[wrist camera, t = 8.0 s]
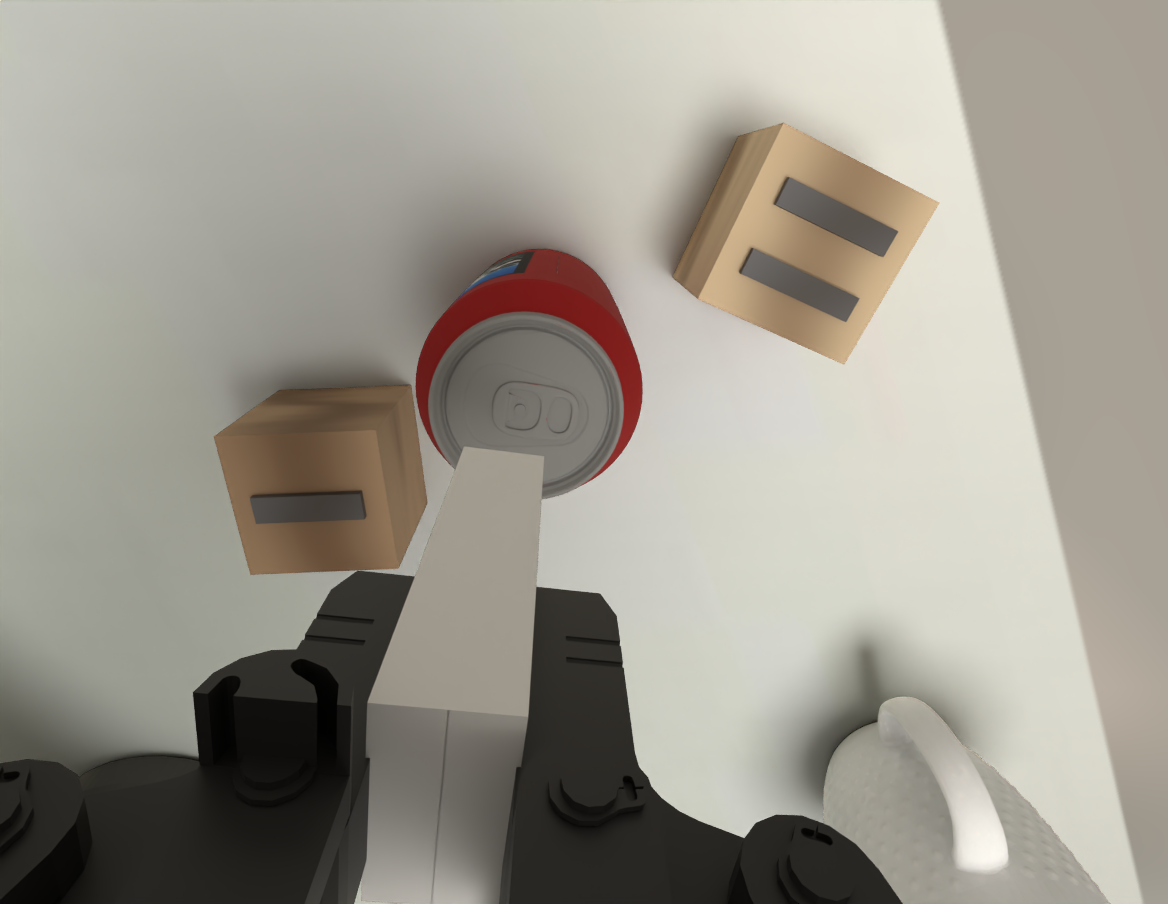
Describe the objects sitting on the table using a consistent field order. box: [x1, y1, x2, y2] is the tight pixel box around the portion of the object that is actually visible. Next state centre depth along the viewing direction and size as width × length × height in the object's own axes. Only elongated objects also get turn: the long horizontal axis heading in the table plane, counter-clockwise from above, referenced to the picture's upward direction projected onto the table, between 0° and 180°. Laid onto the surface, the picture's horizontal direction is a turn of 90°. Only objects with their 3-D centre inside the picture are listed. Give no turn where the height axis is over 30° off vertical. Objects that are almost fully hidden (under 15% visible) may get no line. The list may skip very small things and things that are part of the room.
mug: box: [823, 697, 1110, 904], centre depth 32 cm, size 15×11×13 cm
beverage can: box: [416, 249, 642, 499], centre depth 23 cm, size 7×7×12 cm
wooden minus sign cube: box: [214, 385, 427, 575], centre depth 28 cm, size 6×6×6 cm
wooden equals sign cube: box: [673, 123, 939, 364], centre depth 25 cm, size 6×6×6 cm
